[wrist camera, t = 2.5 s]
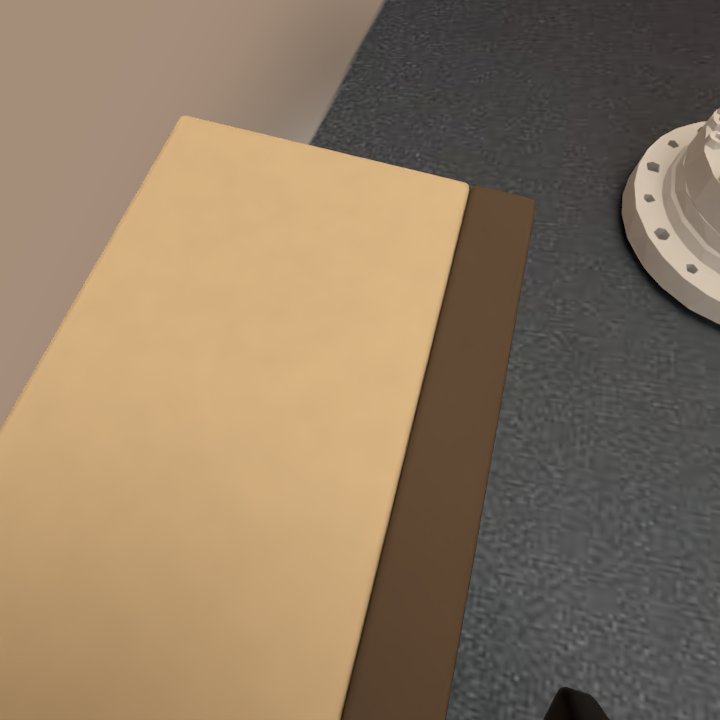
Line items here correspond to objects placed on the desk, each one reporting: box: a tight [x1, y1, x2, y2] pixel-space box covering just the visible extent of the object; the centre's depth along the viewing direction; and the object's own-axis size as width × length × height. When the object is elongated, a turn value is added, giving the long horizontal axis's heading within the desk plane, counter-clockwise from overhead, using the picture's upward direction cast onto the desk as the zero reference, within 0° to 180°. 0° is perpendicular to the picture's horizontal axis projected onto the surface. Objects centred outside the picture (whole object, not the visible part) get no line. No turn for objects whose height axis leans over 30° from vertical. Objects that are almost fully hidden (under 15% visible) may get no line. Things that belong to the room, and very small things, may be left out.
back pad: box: [0, 116, 536, 720], centre depth 11 cm, size 4×7×13 cm, turn 165°
